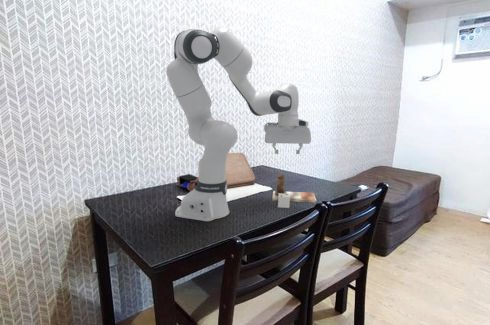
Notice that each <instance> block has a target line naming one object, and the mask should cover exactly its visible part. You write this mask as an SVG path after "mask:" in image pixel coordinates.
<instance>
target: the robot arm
mask: <svg viewBox="0 0 490 325" xmlns="http://www.w3.org/2000/svg"><path fill="white" fill-rule="evenodd" d="M173 44H174V45H173V52H174V53H173V58H174V60H173V61H171V62H170V63H169V64H168V66H167V67H166V69H165V71H166V77H167V79H168V81H169V85H170V87H171V89H172V90H171V91H172V92H173V93H174V96H175V98H176V99H177V102H178V103H179V105H180V107H181V109H182V111H183V113H184V115H185V118H186V120H187V124H188V125H187V126H188V128H187V129H188V131H187V132H188V133H187V134H188V136H189V138H190V139H191V140H192V141H193V142H195V143H196V144H197V145H199V146H202V147H203V146H204V150H203V155H202V157H201V159H199V161H198V165H197V166H198V178H197V179H196V180H194V181H193V182H194V184H193V187H194V189H193V190H192V191H189V192H188V193H187V194H185V195H184V196H183V197H182V199H181V201H180V205H179V206H178V207H177V208H176V209H175V212H174V215H175V217H178V218H183V219H189V220H196V221H202V222H211V221H213V220H217V219H221V218H222V219H223V218H224V217H227V216H228V215H229V214H230V210H229V209H230V208H229V206H228V205H229V204H228V200H227V192H228V188H227V181H226V160H227V156H228V153H230V150H231V149H233V147H234V146H235V145H236V143H237V142H238V141H237V140H238V131H237V129H236V128H235V126H234V125H232V124H230V123H228V122H226V121H224V120H218V119H215V118H214V117H213V116H212V112H211V107H212V98H211V97H210V95H209V93H208V91H207V89H206V86H205V85H204V81H203V80H202V78H201V77H200V74H199V70H198V67H199V65H202V64H206V63H207V62H209V61H211V60H213V59H214V60H215V61H217V63H218V64H220V66H221V67H222V68H223V69H224V70H225V71H226V73H227V74H228V77H229V80H230V82H231V84H232V85H233V86H234V87H235V89H236V90H237V91H238V93H239V94H240V96H241V97H242V98H243V99H244V100H245V102H246V105H247V106H248V109H249V111H250V112H251V113H252V115H253V116H257V117H262V116H266V115H274V114H275V115H276V114H277V122H275V121H274V122H267V123H265V124H264V125H263V131H264V133H265V135H264V144H265V143H266V144H272V148H273V149H274V154H275V155H278V154H279V149H277V148H276V146H277V144H298V148H297V149H296V151H295V154H296V155H300V154H301V149H302V148H303V145H304V144H306V145H308V144H310V143H311V142H312V133H311V129H310V128H309V127H308V126H309V124H310V123H309V121H306V120H304V119H300V118H299V111H298V109H299V103H300V102H299V101H300V100H299V91H298V87H297V86H296V85H294V84H291V83H284V84H283V83H282V84H280V86H278V87H276V88H275V89H272V90H268V91H264V92H263V91H258V90H256V88H255V87H254V86H253V85H252V82H251V81H250V80H249V79H248V77H247V75H248V74H249V73H250V71H251V69H252V66H253V57H252V54H251V53H250V51H249V50H248V49H247V48H246V46H245V45H244V44H243V43H242V42H241V40H240V39H239V38H238V37H237V36H236V35H234V34H233V33H232V32H231V31H230V30H229V29H227V27H224V26H222V27H221V26H219V27H216V28H215V29H214V28H213V30H212V31H210V32H209V31H206V30H202V29H196V28H192V29H191V28H189V29H186V30H183V31H181V32H178V33H177V36H176V37H175V39H174V43H173Z"/></svg>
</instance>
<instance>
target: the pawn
mask: <svg viewBox="0 0 490 325" xmlns="http://www.w3.org/2000/svg"><path fill="white" fill-rule="evenodd" d="M285 182H286V180H285V176H284V174H282V173H280V174H278V175H277V178H276V190H274V191H275V195H277V196H278V195H279V193H282V194H286V192H285Z"/></svg>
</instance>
